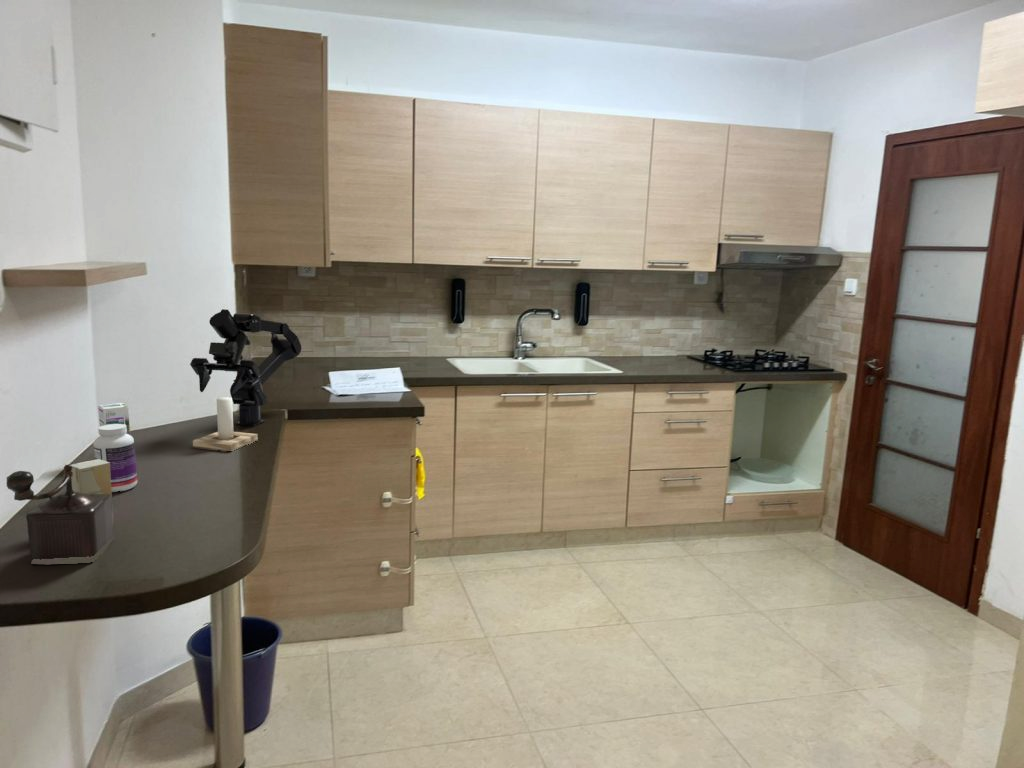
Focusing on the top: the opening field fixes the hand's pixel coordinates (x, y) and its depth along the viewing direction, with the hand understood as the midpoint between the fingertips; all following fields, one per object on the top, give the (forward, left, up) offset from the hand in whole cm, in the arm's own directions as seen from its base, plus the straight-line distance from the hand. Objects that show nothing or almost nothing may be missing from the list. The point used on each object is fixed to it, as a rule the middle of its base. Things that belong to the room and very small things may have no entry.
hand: (216, 392), depth 204 cm
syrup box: (+27, -10, -14) cm, 32 cm away
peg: (+5, +6, -13) cm, 15 cm away
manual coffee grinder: (+77, +26, -14) cm, 82 cm away
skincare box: (+62, +17, -14) cm, 65 cm away
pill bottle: (+44, +6, -14) cm, 46 cm away
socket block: (+5, +6, -14) cm, 15 cm away
